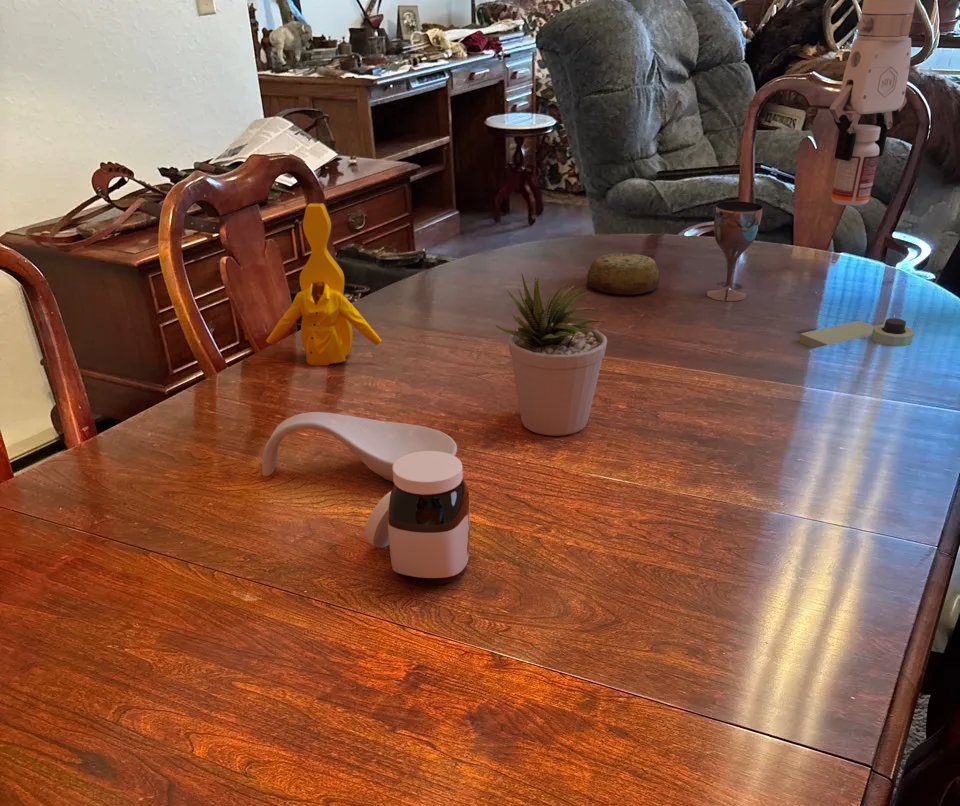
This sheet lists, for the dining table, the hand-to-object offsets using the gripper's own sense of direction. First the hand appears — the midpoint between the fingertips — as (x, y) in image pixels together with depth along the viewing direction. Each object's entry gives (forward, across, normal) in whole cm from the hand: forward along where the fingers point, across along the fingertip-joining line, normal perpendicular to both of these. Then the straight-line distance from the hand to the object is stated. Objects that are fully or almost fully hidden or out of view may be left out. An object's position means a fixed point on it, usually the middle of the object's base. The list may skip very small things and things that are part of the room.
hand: (858, 156), depth 157 cm
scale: (+23, -13, -20) cm, 33 cm away
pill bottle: (+7, 0, 0) cm, 7 cm away
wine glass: (+23, -14, +11) cm, 30 cm away
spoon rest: (+23, -99, -24) cm, 105 cm away
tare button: (+21, -10, -23) cm, 33 cm away
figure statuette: (+23, -89, +16) cm, 93 cm away
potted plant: (+23, -71, -22) cm, 78 cm away
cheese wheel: (+23, -27, +25) cm, 44 cm away
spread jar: (+23, -102, -46) cm, 114 cm away
